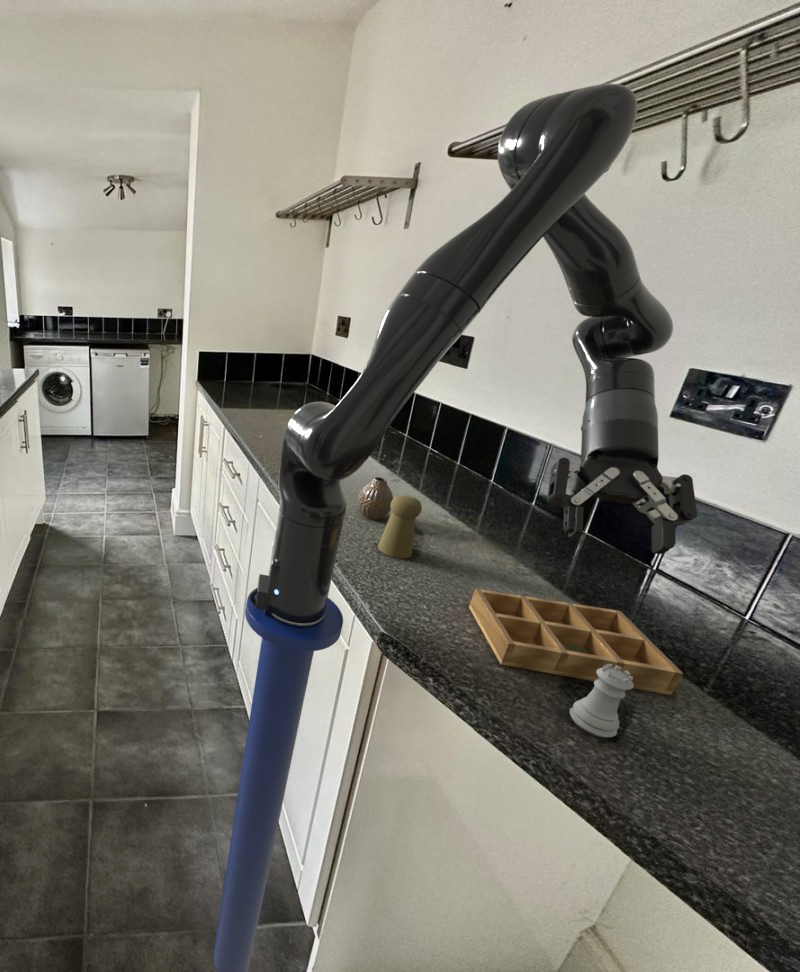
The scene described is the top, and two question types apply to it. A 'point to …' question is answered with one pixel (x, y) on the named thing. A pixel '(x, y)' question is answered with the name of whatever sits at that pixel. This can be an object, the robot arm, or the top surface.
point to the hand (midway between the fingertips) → (617, 543)
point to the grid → (570, 640)
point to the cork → (400, 527)
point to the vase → (375, 499)
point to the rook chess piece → (602, 702)
